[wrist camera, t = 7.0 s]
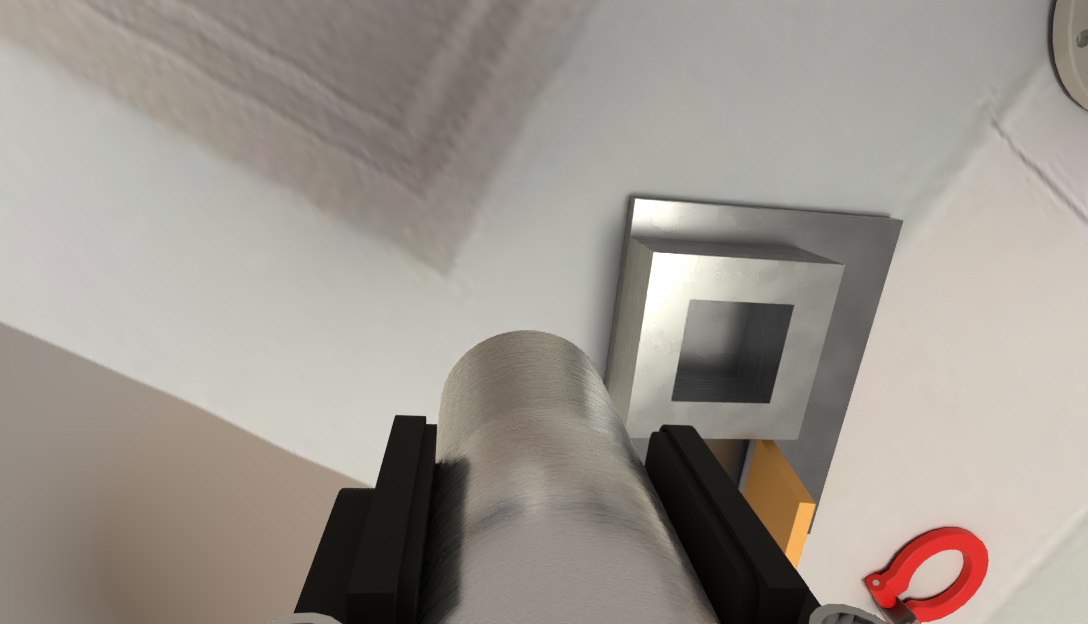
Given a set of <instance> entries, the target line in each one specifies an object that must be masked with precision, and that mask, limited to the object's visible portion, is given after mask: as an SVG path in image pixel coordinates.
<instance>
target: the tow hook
mask: <svg viewBox="0 0 1088 624" xmlns="http://www.w3.org/2000/svg"><path fill="white" fill-rule="evenodd" d="M954 549H956V550H959V551H961V552H962V553H963V555H964V567H963V570H962V572H961V574H960V576H959V578H958V579H957V581H956V582H955V583H954V584H953V585H952V586H951V587H950V588H949V589H948V590H947V591H945V592H944V593H943V594H941V595H939V596H937V597H935V598H933V599H930V600H926V601H916V600H909V601H908V602H906V603H905V604H904V603H903V602H902V601H901V600H900V599H899V598H898V597H897V596H898V595H900V594H901V593H903V592H904V591H906V590H907V588H908V586H909V582H910V579H911V577H912V575H913V574H914V572H915V571H916V569H917V568H918V567H919V566H920V565H921V564H922V563H923V562H924V561H925V560H927V559H928V558H929V557H931V556H932V555H934V554H936V553H938V552H941V551H944V550H954ZM987 567H988V552H987V549H986V547H985V545H984V544H983V542H982V541H981V540H979V539H978V538H977V537H976V536H974V535H973V534H972V533H970V532H969V531H967V530H964V529H961V528H942V529H938V530H934V531H931V532H929V533H927V534H925V535H923V536H921V537H919V538H917V539H916V540H915V541H913V542H912V543H910V544H909V545H908V546H907V547H906V548H905V549H904V550H903V551H902V552H901V553H900V554H899V555H898V556H897V558H896V559H895V561H894V562H893V564H892V565H891V567H890V569H889V570H887V571H886V572H884V573H883V574H882V575H879V574H872V575H869V576H868V577H867V579H866V585H867V587H868V588H869V590H870V592H871V594H872V595H873V597H874V599H875V602H876V604H877V606H878V608H879V609H880V611H881V613H882V614H883V616H884V618H885V619H886V620H887V621H888V622H889V624H921V623H922V622H929V621H933V620H937V619H941V618H943V617H945V616H947V615H949V614H951V613H953V612H954V611H956V610H957V609H959V608H960V607H961V606H963V605H964V604H965V603H966V602H967V601H968V600H969V599H970V598H971V597H972V596H973V595H974V594H975V592H976V591H977V590H978V588H979V587H980V585H981V584H982V582H983V579H984V577H985V575H986V572H987Z"/></svg>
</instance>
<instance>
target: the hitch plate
mask: <svg viewBox="0 0 1088 624" xmlns="http://www.w3.org/2000/svg"><path fill="white" fill-rule="evenodd" d="M902 223H903V220H899V219H894V218H888V217H875V216H863V215H851V214H838V213H826V212H814V211H801V210H789V209H777V208H764V207H752V206H740V205H727V204H715V203H703V202H690V201H678V200H666V199H653V198H641V197H630V201H629V209H628V216H627V223H626V230H625V237H624V244H623V251H622V259H621V266H620V273H619V280H618V287H617V294H616V302H615V309H614V316H613V323H612V330H611V337H610V345H609V352H608V359H607V366H606V373H605V380H604V385H605V388H606V390H607V392H608V394H609V396H610V398H611V400H612V402H613V404H614V406H615V408H616V410H617V412H618V414H619V416H620V418H621V420H622V422H623V424H624V426H625V429H626V431H627V433H628V435H629V437H630V439H631V441H632V443H633V445H634V447H635V449H636V451H637V453H638V455H639V457H640V459H641V461H642V463H643V465H645V460H646V454H647V449H648V444H649V439H650V435H651V433H652V432H654V431H656V432H659V429H660V427H661V426H662V425H663V424H669V425H691V426H693V427H694V428H695V429H696V431H697V432H698V433H699V435H700V436H701V438H702V439H703V440H704V442H705V443H706V445H707V446H708V447H709V449H710V450H711V452H712V453H713V454H714V456H715V457H716V458H717V460H718V461H719V463H720V464H721V465H722V467H723V468H724V470H725V471H726V472H727V474H728V475H729V477H730V478H731V479H732V481H733V482H734V484H735V485H736V486H737V488H738V487H739V483H740V479H741V475H742V471H743V466H744V462H745V458H746V454H747V450H748V446H749V441H750V439H763V440H773V441H774V442H775V444H776V445H777V447H778V448H779V450H780V451H781V453H782V454H783V456H784V457H785V459H786V460H787V462H788V463H789V465H790V466H791V468H792V469H793V471H794V472H795V474H796V475H797V477H798V478H799V480H800V481H801V483H802V484H803V486H804V487H805V488H806V490H807V491H808V493H809V494H810V496H811V497H812V499H813V500H814V502H815V503H816V505H815V509H814V512H813V516H812V519H811V522H810V526H809V529H808V532H807V534H810V531H811V528H812V525H813V521H814V518H815V515H816V511H817V508H818V505H819V501H820V498H821V494H822V491H823V488H824V484H825V481H826V478H827V474H828V471H829V468H830V464H831V461H832V458H833V454H834V451H835V448H836V444H837V441H838V438H839V434H840V431H841V427H842V424H843V421H844V417H845V414H846V411H847V407H848V404H849V401H850V397H851V394H852V391H853V387H854V384H855V381H856V377H857V374H858V371H859V367H860V364H861V361H862V357H863V354H864V350H865V347H866V344H867V340H868V337H869V334H870V330H871V327H872V324H873V320H874V317H875V314H876V310H877V307H878V304H879V300H880V297H881V294H882V290H883V287H884V284H885V280H886V277H887V273H888V270H889V267H890V263H891V260H892V257H893V253H894V250H895V247H896V243H897V240H898V237H899V233H900V230H901V227H902Z"/></svg>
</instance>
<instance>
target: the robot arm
mask: <svg viewBox="0 0 1088 624" xmlns="http://www.w3.org/2000/svg"><path fill="white" fill-rule="evenodd" d="M1053 49H1054V56H1055V63H1056V66H1057V69H1058V72H1059V75H1060V78H1061V80H1062V83H1063V84H1064V86H1065V87H1066V89H1067V90H1068V92H1069V94H1070V95H1071V97H1072V98H1073V99H1074V100H1076V101H1077V102H1078V103H1079V104H1080V105H1081V106H1082V107H1083V108H1085V109H1087V110H1088V0H1057V2H1056V8H1055V13H1054V18H1053ZM436 442H437V424H426V416H406V415H396V416H395V418H394V422H393V425H392V429H391V433H390V436H389V440H388V443H387V447H386V451H385V454H384V458H383V461H382V465H381V469H380V472H379V476H378V480H377V483H376V487H375V489H374V488H342V489H341V490H340V491H339V493H338V495H337V498H336V501H335V503H334V506H333V509H332V511H331V514H330V517H329V520H328V522H327V525H326V527H325V530H324V533H323V535H322V538H321V541H320V544H319V546H318V549H317V552H316V554H315V557H314V560H313V562H312V565H311V568H310V570H309V573H308V576H307V578H306V581H305V584H304V587H303V590H302V592H301V595H300V598H299V600H298V603H297V605H296V608H295V611H294V614H291V615H288V616H284V617H280V618H277V619H274V620H273V621H270V622H268V623H267V624H416V622H417V614H418V606H419V597H420V589H421V581H422V572H423V564H424V555H425V547H426V539H427V530H428V522H429V513H430V505H431V497H432V488H433V480H434V472H435V462H436ZM644 467H645V470H646V472H647V474H648V476H649V478H650V480H651V482H652V484H653V486H654V488H655V490H656V492H657V494H658V496H659V498H660V500H661V502H662V504H663V506H664V508H665V510H666V513H667V515H668V517H669V519H670V521H671V523H672V525H673V527H674V529H675V531H676V533H677V535H678V537H679V539H680V541H681V543H682V545H683V547H684V549H685V551H686V554H687V556H688V558H689V560H690V562H691V564H692V566H693V568H694V570H695V572H696V574H697V576H698V578H699V580H700V582H701V584H702V586H703V588H704V590H705V592H706V595H707V597H708V599H709V601H710V603H711V605H712V607H713V609H714V611H715V613H716V615H717V617H718V619H719V621H720V623H721V624H888V623H886V622H885V621H883V620H882V619H880V618H879V617H877V616H875V615H873V614H870V613H868V612H866V611H864V610H862V609H859V608H856V607H852V606H848V605H844V604H827V605H824V606H821V605H820V604H819V602H818V601H817V599H816V598H815V597H814V595H813V594H812V592H811V591H810V590H809V587H808V586H807V584H806V583H805V582H804V580H803V579H802V577H801V576H800V575H799V573H798V572H797V570H796V569H795V568H794V566H793V565H792V563H791V562H790V561H789V559H788V558H787V556H786V555H785V554H784V552H783V551H782V549H781V548H780V547H779V545H778V544H777V542H776V541H775V540H774V538H773V537H772V535H771V534H770V533H769V531H768V530H767V528H766V527H765V526H764V524H763V523H762V521H761V520H760V519H759V517H758V516H757V514H756V513H755V512H754V510H753V509H752V507H751V506H750V505H749V503H748V502H747V500H746V499H745V498H744V496H743V495H742V493H741V492H740V491H739V489H738V488H737V486H736V485H735V484H734V482H733V481H732V479H731V478H730V477H729V475H728V474H727V472H726V471H725V470H724V468H723V467H722V465H721V464H720V463H719V461H718V460H717V458H716V457H715V456H714V454H713V453H712V452H711V450H710V449H709V447H708V446H707V445H706V443H705V442H704V440H703V439H702V438H701V436H700V435H699V433H698V432H697V431H696V429H695V428H694V427H693V426H691V425H669V424H663V425H662V426H661V427H660V429H659V432H656V431H654V432H652V433H651V435H650V439H649V444H648V449H647V454H646V460H645V465H644Z"/></svg>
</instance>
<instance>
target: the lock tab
mask: <svg viewBox="0 0 1088 624" xmlns="http://www.w3.org/2000/svg"><path fill="white" fill-rule="evenodd" d="M738 489H739V491H740V492H741V493H742V495H743V496H744V498H745V499H746V500H747V502H748V503H749V505H750V506H751V507H752V509H753V510H754V512H755V513H756V514H757V516H758V517H759V519H760V520H761V521H762V523H763V524H764V526H765V527H766V528H767V530H768V531H769V533H770V534H771V535H772V537H773V538H774V540H775V541H776V542H777V544H778V545H779V547H780V548H781V549H782V551H783V552H784V554H785V555H786V556H787V558H788V559H789V561H790V562H791V563H792V565H793V566H794V568H795V569H796V570H797V566H798V563H799V559H800V556H801V553H802V549H803V546H804V543H805V539H806V536H807V532H808V529H809V526H810V522H811V519H812V516H813V512H814V509H815V505H816V503H815V502H814V500H813V499H812V497H811V496H810V494H809V493H808V491H807V490H806V488H805V487H804V486H803V484H802V483H801V481H800V480H799V478H798V477H797V475H796V474H795V472H794V471H793V469H792V468H791V466H790V465H789V463H788V462H787V460H786V459H785V457H784V456H783V454H782V453H781V451H780V450H779V448H778V447H777V445H776V444H775V442H774V441H773V440H763V439H750V441H749V446H748V450H747V454H746V458H745V462H744V466H743V471H742V475H741V479H740V483H739V487H738Z"/></svg>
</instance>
